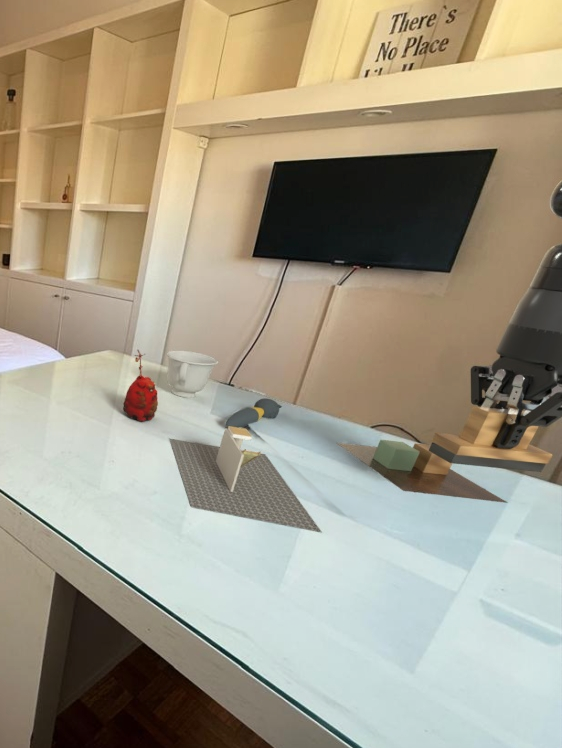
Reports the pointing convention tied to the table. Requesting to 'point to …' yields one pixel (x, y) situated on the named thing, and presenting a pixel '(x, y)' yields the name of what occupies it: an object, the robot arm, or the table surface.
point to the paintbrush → (254, 413)
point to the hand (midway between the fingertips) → (492, 442)
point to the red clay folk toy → (141, 397)
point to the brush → (489, 444)
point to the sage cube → (395, 455)
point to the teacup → (188, 372)
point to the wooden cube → (430, 461)
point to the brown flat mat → (423, 478)
